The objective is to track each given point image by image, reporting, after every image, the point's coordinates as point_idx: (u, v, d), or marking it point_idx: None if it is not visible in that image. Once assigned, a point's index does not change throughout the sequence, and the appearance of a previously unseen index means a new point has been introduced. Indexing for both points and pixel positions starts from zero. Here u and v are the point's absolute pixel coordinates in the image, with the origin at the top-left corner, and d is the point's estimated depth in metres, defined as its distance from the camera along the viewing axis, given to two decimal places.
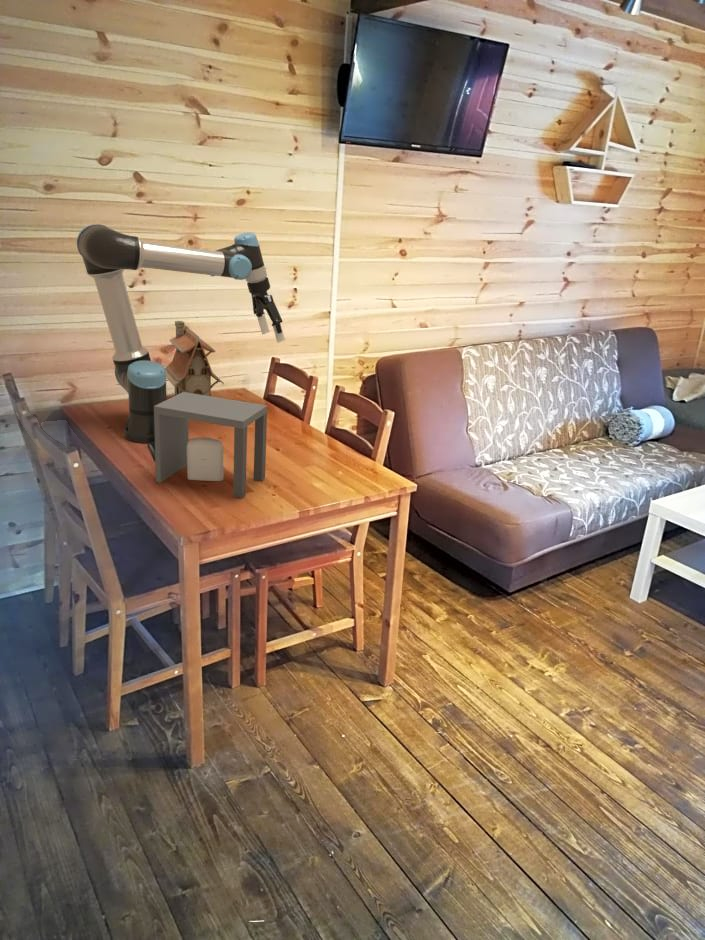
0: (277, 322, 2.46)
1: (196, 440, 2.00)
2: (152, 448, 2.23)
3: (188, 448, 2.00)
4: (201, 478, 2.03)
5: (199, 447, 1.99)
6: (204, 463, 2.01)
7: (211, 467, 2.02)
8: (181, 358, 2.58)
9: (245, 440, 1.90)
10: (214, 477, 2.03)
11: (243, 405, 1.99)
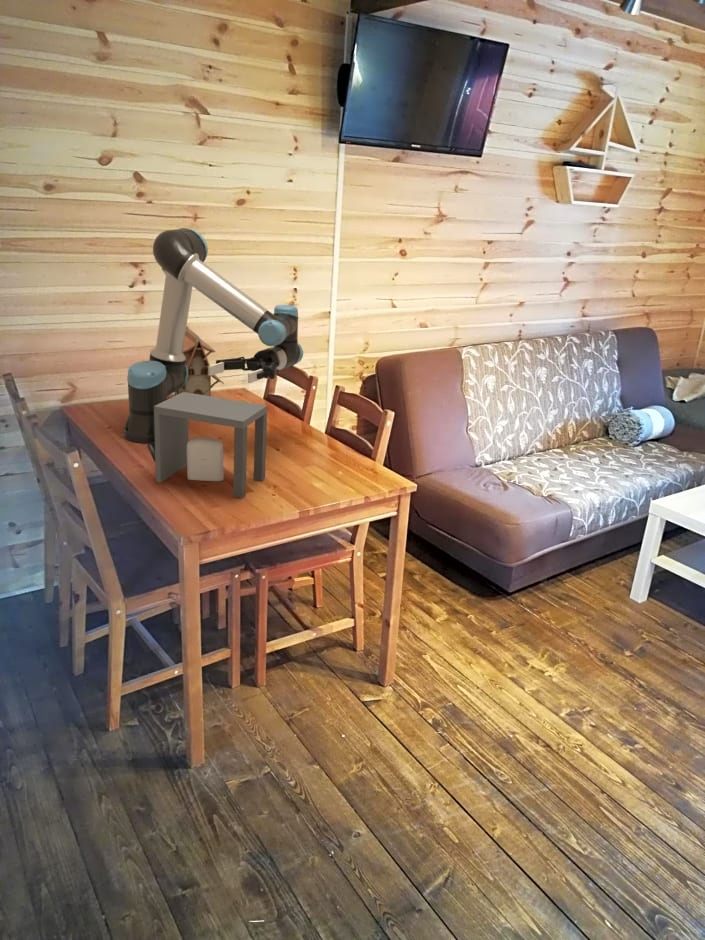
0: (273, 372, 2.07)
1: (196, 440, 2.00)
2: (152, 448, 2.23)
3: (188, 448, 2.00)
4: (201, 478, 2.03)
5: (199, 447, 1.99)
6: (204, 463, 2.01)
7: (211, 467, 2.02)
8: None
9: (245, 440, 1.90)
10: (214, 477, 2.03)
11: (243, 405, 1.99)
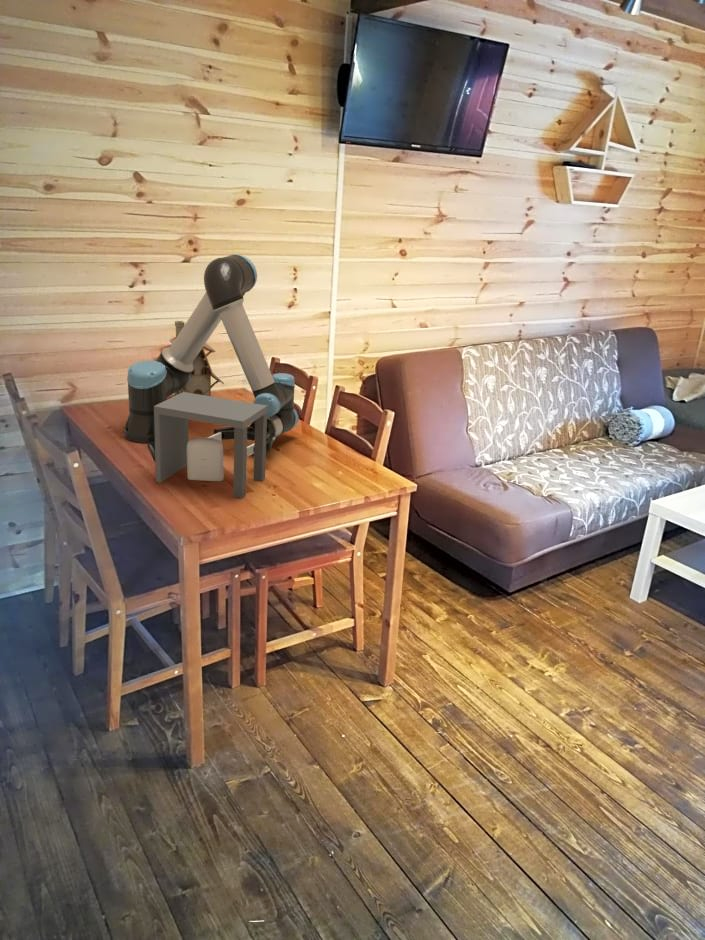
0: (270, 445, 2.13)
1: (196, 440, 2.00)
2: (152, 448, 2.23)
3: (188, 448, 2.00)
4: (201, 478, 2.03)
5: (199, 447, 1.99)
6: (204, 463, 2.01)
7: (211, 467, 2.02)
8: None
9: (245, 440, 1.90)
10: (214, 477, 2.03)
11: (243, 405, 1.99)
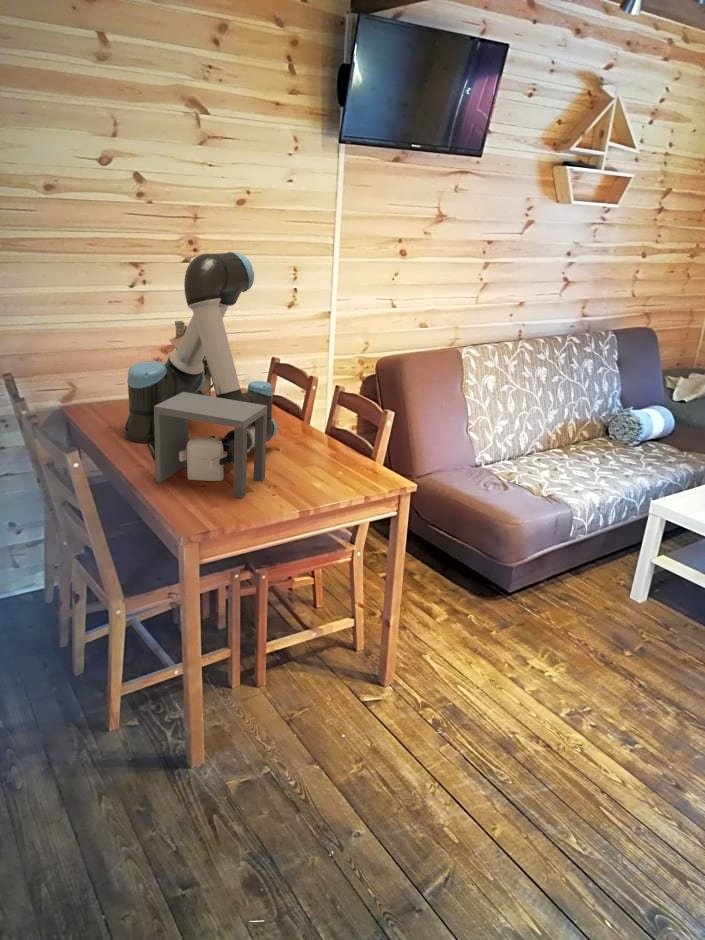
0: None
1: (196, 440, 2.00)
2: (152, 448, 2.23)
3: (188, 448, 2.00)
4: (201, 478, 2.03)
5: (199, 447, 1.99)
6: (204, 463, 2.01)
7: None
8: None
9: (245, 440, 1.90)
10: (214, 477, 2.03)
11: (243, 405, 1.99)
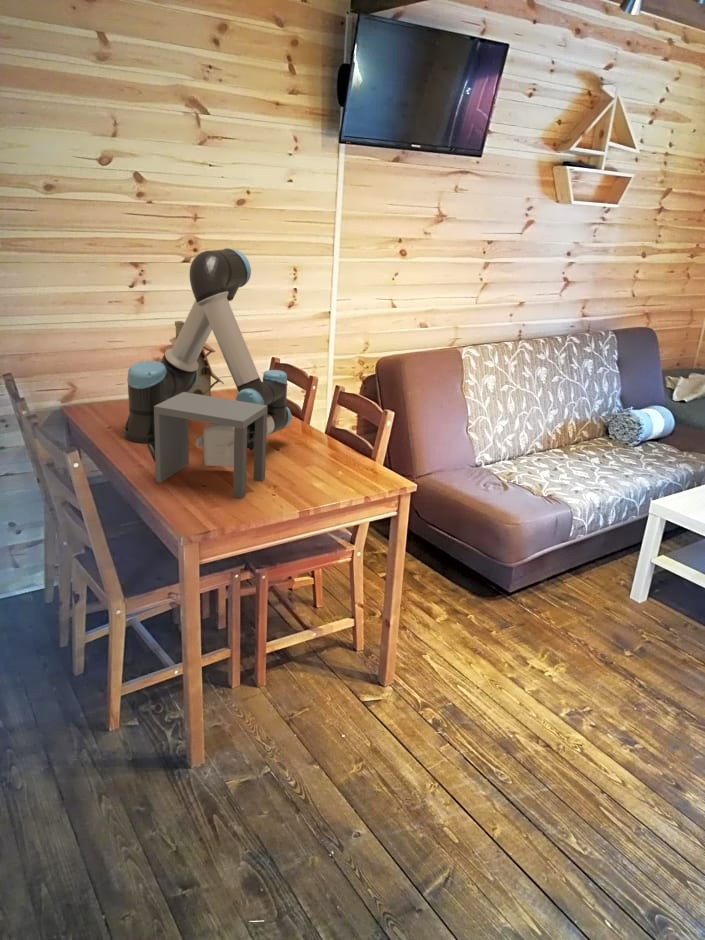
0: (252, 443, 2.06)
1: (212, 426, 2.04)
2: (152, 448, 2.23)
3: (205, 434, 2.04)
4: (217, 464, 2.07)
5: (215, 433, 2.04)
6: (220, 449, 2.05)
7: None
8: None
9: (245, 440, 1.90)
10: (230, 463, 2.07)
11: (243, 405, 1.99)
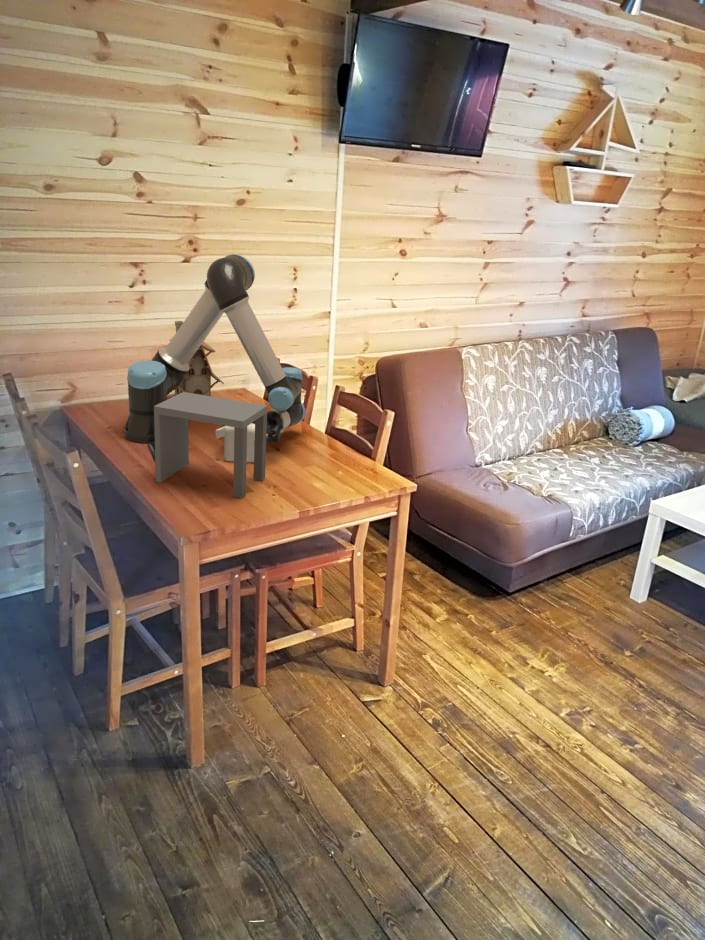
0: (278, 437, 2.17)
1: None
2: (152, 448, 2.23)
3: (226, 431, 2.15)
4: None
5: None
6: None
7: (247, 449, 2.17)
8: None
9: (245, 440, 1.90)
10: (250, 458, 2.18)
11: (243, 405, 1.99)
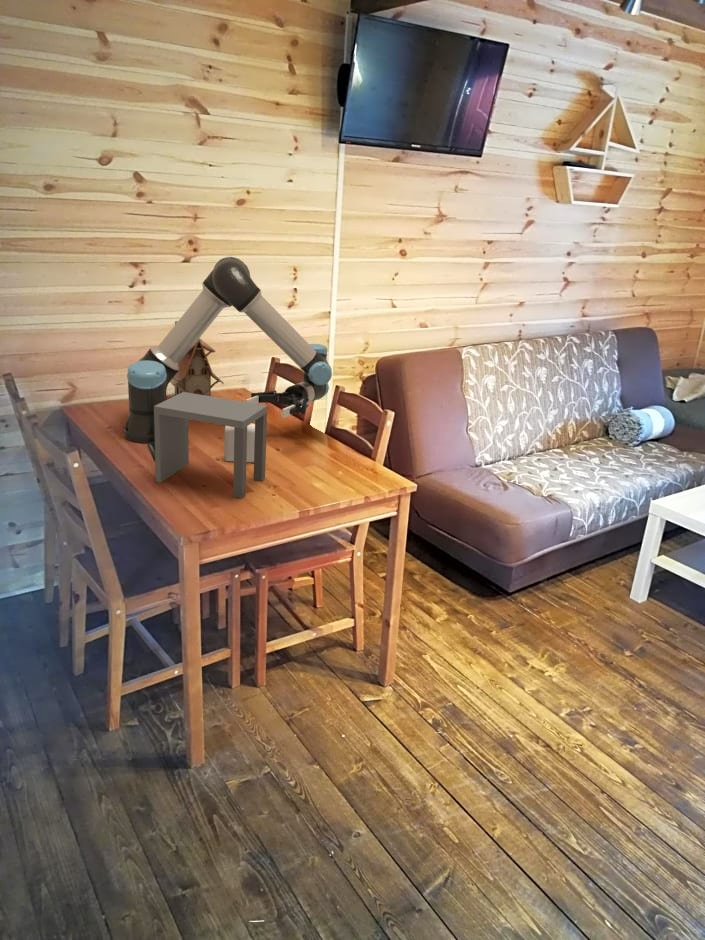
0: (305, 408, 2.27)
1: None
2: (152, 448, 2.23)
3: (226, 431, 2.15)
4: None
5: None
6: None
7: (247, 449, 2.17)
8: None
9: (245, 440, 1.90)
10: (250, 458, 2.18)
11: (243, 405, 1.99)
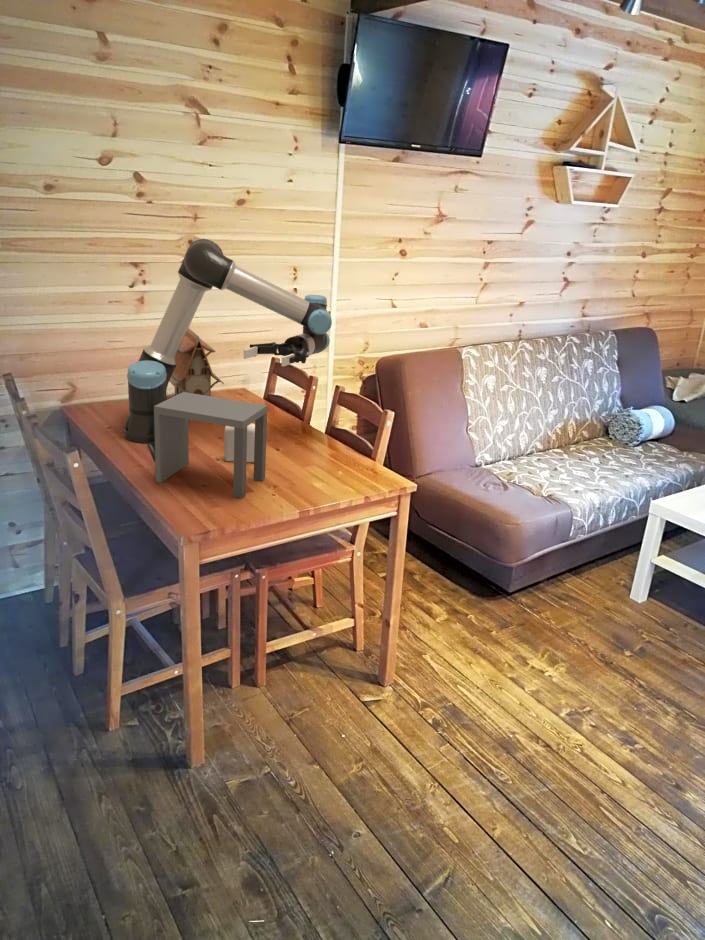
0: (305, 357, 2.21)
1: None
2: (152, 448, 2.23)
3: (226, 431, 2.15)
4: None
5: None
6: None
7: (247, 449, 2.17)
8: (181, 358, 2.58)
9: (245, 440, 1.90)
10: (250, 458, 2.18)
11: (243, 405, 1.99)
